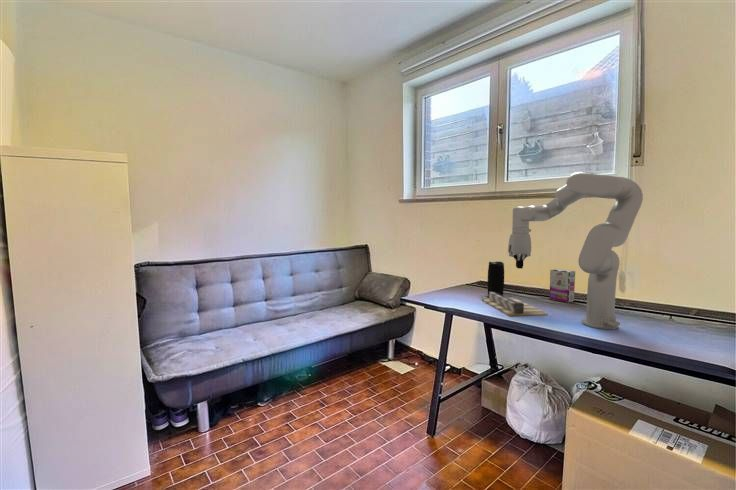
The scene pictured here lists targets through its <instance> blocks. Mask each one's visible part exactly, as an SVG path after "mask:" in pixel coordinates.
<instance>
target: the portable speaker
mask: <svg viewBox="0 0 736 490" xmlns="http://www.w3.org/2000/svg"><path fill="white" fill-rule="evenodd" d="M504 289H505V263H504V262H503V261H489V262H488V268H487V296H488V297H489V292H497V293H499V294H501V295H503V296H504V291H505V290H504Z"/></svg>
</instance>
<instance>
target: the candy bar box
mask: <svg viewBox="0 0 736 490" xmlns="http://www.w3.org/2000/svg"><path fill="white" fill-rule="evenodd" d="M549 276H550V277H549V298H551V299H550V300H553V299H555V300H554V301H557V300H559V301H558V302H563V303H567V304H569V303H570V302H571V303H574V302H575V287H576V286H575V284H576V271H575V270H567V269H560V268H551V269H550V274H549ZM573 301H574V302H573Z"/></svg>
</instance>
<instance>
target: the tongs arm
mask: <svg viewBox="0 0 736 490" xmlns="http://www.w3.org/2000/svg"><path fill="white" fill-rule="evenodd" d="M493 293H495V294H498V295H500V296H502V297H504V298H506V299H508V300H510V301H512V302H514V303H518V302H516V301H514V300H512V299H510V298H511V297H508V296H505V295H504V294H503V295H501V294H499V293H497V292H493Z"/></svg>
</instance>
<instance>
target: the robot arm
mask: <svg viewBox="0 0 736 490" xmlns="http://www.w3.org/2000/svg"><path fill="white" fill-rule="evenodd" d="M587 196H590V197H595V198H600V199H609V200H610V199H611V200H615V203H614V204H613V206H612V207H611V209H610V210H609V212H608V214H607V218H606V220H605V221H604V223H599V224H597V225H594V226H593V227H592V228H591V229H590V230H589V231H588V234H587V235H586V238H585V240H584V243H583V244H582V245H583V246H582V247H581V250H580V253H579V255H578V260H577V261H578V265H579V268H580V269H581V271H583V272H584V273H587V274H588V280H587V291H586V293H587V295H586V311H585V312H586V313H585V314H586V315H585V317H583V318H581V324H583V325H585V326H587V327H591V328H595V329H602V330H616V329H618V328H619V326H620V325H621V322H619V321H617V317H616V316H615V310H616V309H615V307H616V290H617V280H618V279H617V278H618V274H619V273H618V272H619V269H620V268H619V267H620V264H621V263H620V257H619V255H618V254H617V252H616V251H615V250H613V248H616V247H620V246H622V245H623V244H625V242H627V241H626V240H627V238H628V236H629V234H630V232H631V230H632V227H633V224H634V223H635V220H636V217H637V215H638V213H639V210H640V208H641V207H642V204H643V199H644V198H643V197H644V194H643V190H642V188H641V187H640V185H639V184H638V183H637V182H635V181H634V180H632V179H630V178H628V177H624V176H614V175H613V176H612V175H605V174H597V173H593V172H589V171H586V172H585V171H576V172H574V173H572V174H570V175H569V176H568V177H567V179H566V183H565V185H563V186H561V187H559V188H558V189H556V190H555V191H554V198H553V199H552V200H550V201H549V202H547V203H545V204H543V205H528V206H514V207H513V209H512V225H511V226H512V227H511V228H512V230H511V231H512V233H510V235H509V238H508V245H507V246H508V247H507V248H508V249H507V252H508V257H512V258H513V259H514V260H515V267H516V268H517V269H521V270H522V269H523V268H524V261H525V259H527V258H528V257H531V253H532V240H531V234H530V233H531V232H532V229H531V228H529V227H530V222H545V221H549V220H550V219H552V218H554V217H556V216H558V215H559V214H562V212H563V211H565V210H566V209H567V208H568V206H570V205H572V204H574V203H575V202H577V201H579V200H581V199H583V198H584V197H587Z"/></svg>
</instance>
